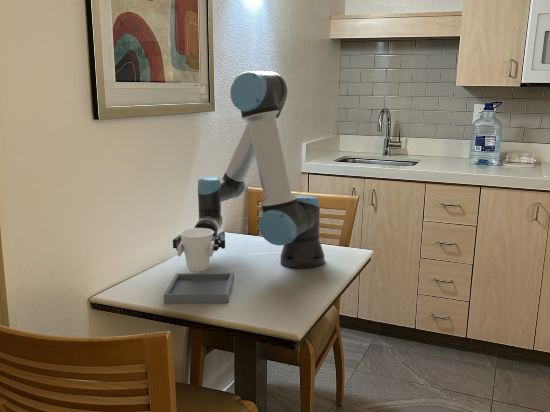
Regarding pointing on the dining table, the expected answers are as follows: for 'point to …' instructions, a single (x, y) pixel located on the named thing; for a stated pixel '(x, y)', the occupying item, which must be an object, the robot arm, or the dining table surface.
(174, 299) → the tray
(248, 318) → the dining table surface
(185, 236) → the cup
